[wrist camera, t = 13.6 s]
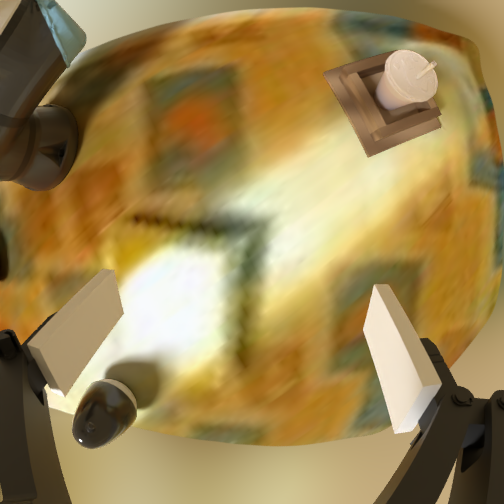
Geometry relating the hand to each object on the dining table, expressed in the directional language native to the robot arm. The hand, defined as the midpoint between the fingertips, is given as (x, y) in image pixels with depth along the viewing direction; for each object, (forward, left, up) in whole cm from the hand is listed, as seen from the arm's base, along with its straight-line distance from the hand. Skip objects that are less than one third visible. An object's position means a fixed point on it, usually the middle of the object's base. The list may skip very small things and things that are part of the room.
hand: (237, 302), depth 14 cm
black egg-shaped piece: (+15, -37, -25) cm, 47 cm away
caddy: (-10, +23, -25) cm, 36 cm away
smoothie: (-10, +23, -24) cm, 35 cm away
